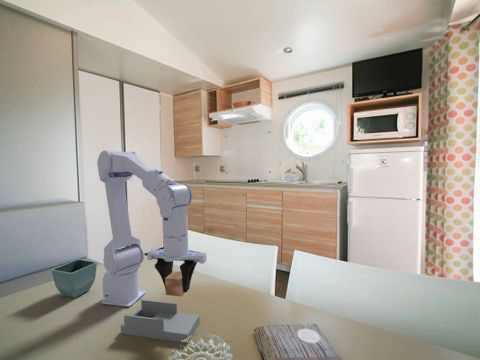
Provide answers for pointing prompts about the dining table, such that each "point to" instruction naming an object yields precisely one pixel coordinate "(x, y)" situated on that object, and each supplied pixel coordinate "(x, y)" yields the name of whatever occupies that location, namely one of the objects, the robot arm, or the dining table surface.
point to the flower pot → (74, 277)
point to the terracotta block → (174, 284)
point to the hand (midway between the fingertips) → (177, 289)
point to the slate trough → (160, 322)
